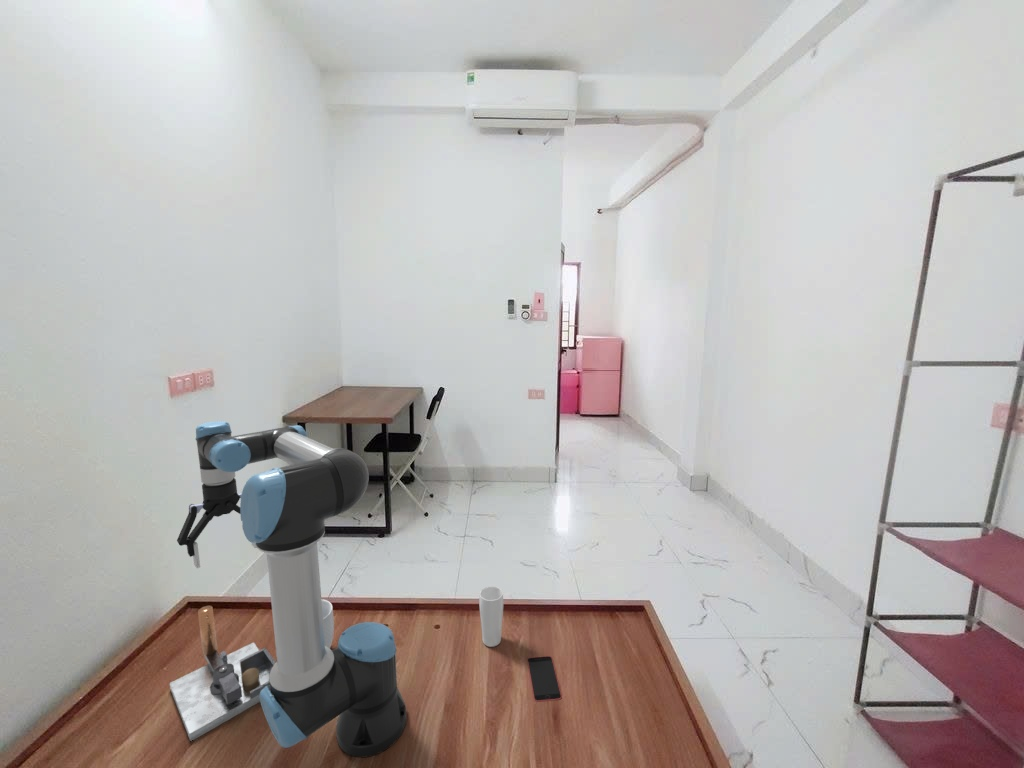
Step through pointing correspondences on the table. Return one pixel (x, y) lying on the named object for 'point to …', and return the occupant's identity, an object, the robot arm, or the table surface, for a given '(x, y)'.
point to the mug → (328, 622)
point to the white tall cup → (491, 615)
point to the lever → (217, 658)
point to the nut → (250, 679)
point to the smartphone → (543, 679)
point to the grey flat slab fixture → (206, 703)
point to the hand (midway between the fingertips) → (227, 555)
